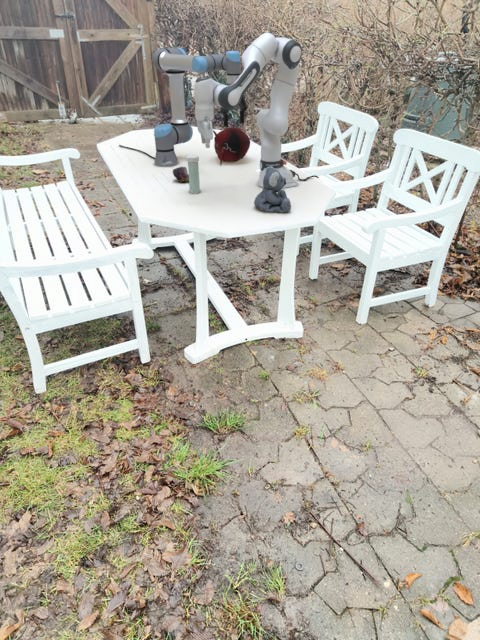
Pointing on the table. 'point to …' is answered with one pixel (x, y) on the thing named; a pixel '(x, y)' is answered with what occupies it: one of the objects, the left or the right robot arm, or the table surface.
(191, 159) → the lid
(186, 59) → the left robot arm
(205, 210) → the table surface
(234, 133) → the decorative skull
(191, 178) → the jar
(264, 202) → the koala plush
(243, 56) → the right robot arm
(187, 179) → the rock
